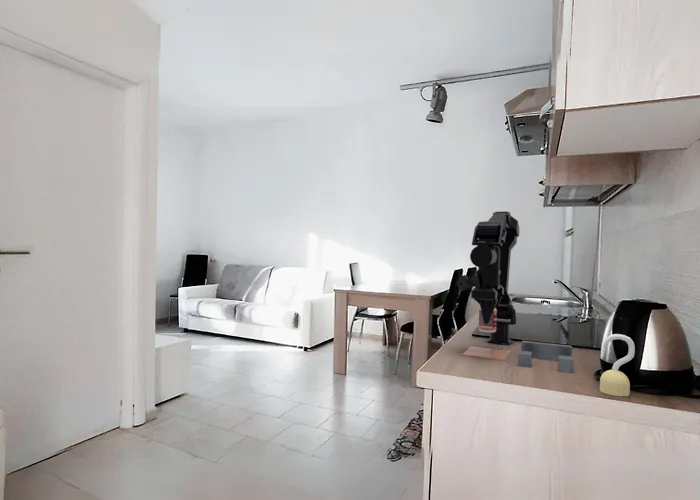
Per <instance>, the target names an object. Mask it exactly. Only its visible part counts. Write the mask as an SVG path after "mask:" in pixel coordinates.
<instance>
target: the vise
mask: <svg viewBox="0 0 700 500" xmlns="http://www.w3.org/2000/svg"><path fill="white" fill-rule="evenodd" d="M572 350H573V346H572V345H565V344H557V343H548V342H539V341H537V342H536V341H530V340H529V341H528V340H522V341H521V350H519V351H518V353H517V366H519V367H526V368H531V367H532V364H533V362H532V361H533V359H538V360H539V359H540V360H548V361H555V362H556V361H557V362H558V371H559V372H564V373H573V362H574V361H573V353H572V352H573V351H572Z"/></svg>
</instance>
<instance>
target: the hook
mask: <svg viewBox="0 0 700 500" xmlns="http://www.w3.org/2000/svg"><path fill="white" fill-rule="evenodd" d="M614 340H621V341H624V342H626V344H627V347H628V352H627V355H625V356H624V357H622V358H619V359H618V360H616V361H615V362H614V363H613V365H612V367H611V369H609V370H606V371H604V372H603V373H602V374H601V376H600V379H599V391H600V392H601V393H603V394H605V395H610V396H615V397H623V396H624V397H629V396H630V391H631V390H630V389H631V384H630V380H629V377H628V376H627V375H626V374H625V373H624V372H622V371H621V370H619V369H620V367H621V366H622V365H624V364H627V363H628V362H630V361H631V360H632V359H633V358H634V357H635V353H636V351H635V350H636V348H635V347H636V346H635V343H634V341H633V339H632V338H631V337H629V336H627V335H625V334H620V333H614V334H610V335H608V336H607V337H606V338H605V339H604V341H603V349H602V350H603V351H602V353H604V352H605V349H606V348H607V346H608V345H609V343H610V342H612V341H614Z"/></svg>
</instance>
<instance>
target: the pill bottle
mask: <svg viewBox="0 0 700 500" xmlns="http://www.w3.org/2000/svg"><path fill="white" fill-rule="evenodd" d="M496 322H497V310H496V308H494V311H493V313H492V316H491V318H490V321H489V323H488V324H485V323H484V320H483V316H482V311H481V307H479V309H478V331H479V332H482V333H490V332H496Z"/></svg>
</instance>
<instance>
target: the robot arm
mask: <svg viewBox="0 0 700 500" xmlns="http://www.w3.org/2000/svg"><path fill="white" fill-rule="evenodd" d="M518 237H520V223H519V221H518V220H517V219H516V218H514V217H513V216H512V215H511V211H510V212H509V211H505V210H504V211H495V212H493V213H492V216H491V217H490V218H489V219H488V220H487V221H486V220H485V221H478V222H477V225H475V226H474V231H473V236H472V241H471V246H475V247H474V248H473V249H472V250H471V252H470V254H469V258H470V262H471V263H472V264H473V265H474V266H475V267H478V269H476V270H475V275H472V276H467V274H463V275H461V276H458V280H456V282H457V283H456V286H457V287H458V288H459V292H463V291H466V290H468V289H471V288H473V287H474V288H473V289H472V290H471V291H470V299H473V301H475V302H476V303H478V304H479V306H480V307H481V311H482V316H483V320H484V323H485V324H488V323H489V321H490V318H491V316H492V313H493V311H494V308H496V310H497V322H496V332H489V333H490V334H489V338H488V340H487V343H490V344H491V343H492V344H499V345H500V344H501V345H510V344H511V343H512V339H510V325H512V326H513V325H517V311H516V309H515V307H514V304H513V301H512V299H511V297H510V295H509V292H508V291H509V279H510V269H511V266H510V265H511V255H512V254H511V253H512V250H513V248H515V246H516V245H517V242H518ZM480 307H479V308H480Z"/></svg>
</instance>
